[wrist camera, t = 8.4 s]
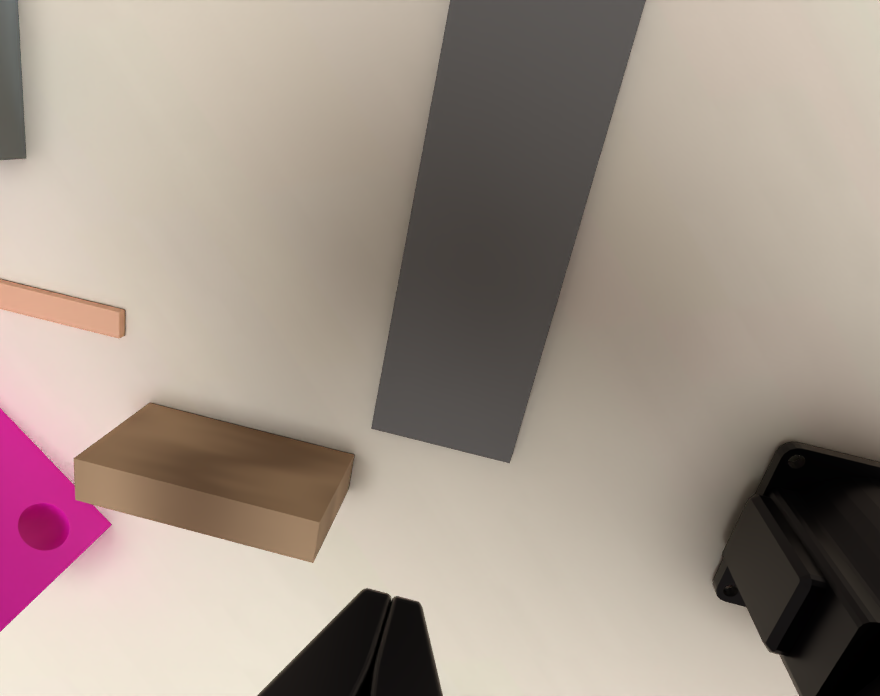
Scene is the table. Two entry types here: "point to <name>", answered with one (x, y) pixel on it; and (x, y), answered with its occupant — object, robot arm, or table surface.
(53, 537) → the toy block
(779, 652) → the robot arm
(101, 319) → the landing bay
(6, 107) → the cube
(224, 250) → the table surface
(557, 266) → the grey flat board
